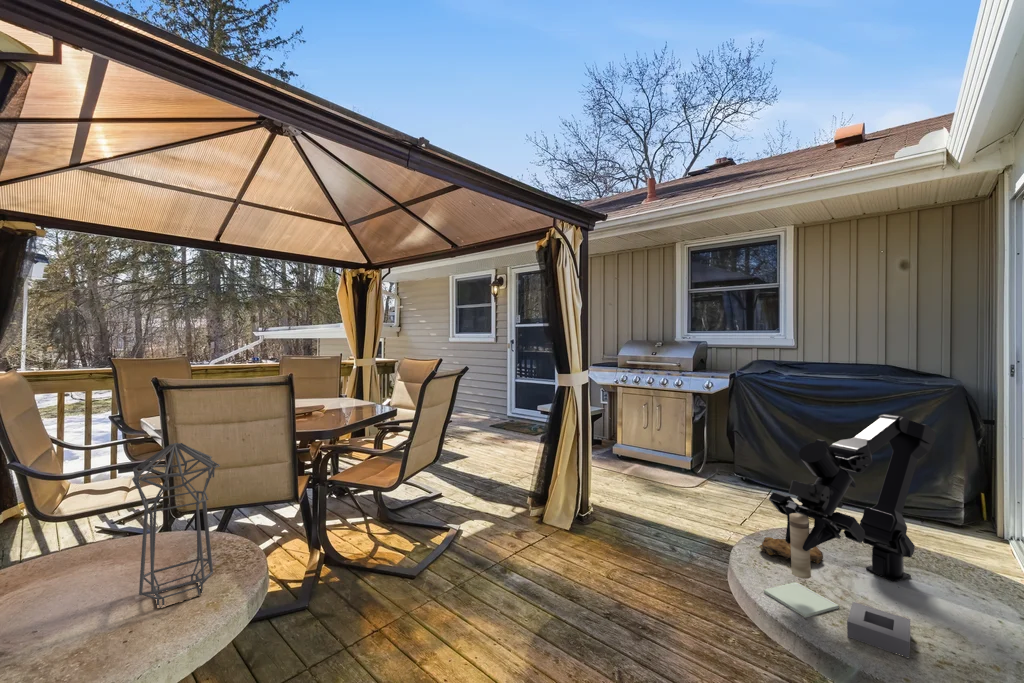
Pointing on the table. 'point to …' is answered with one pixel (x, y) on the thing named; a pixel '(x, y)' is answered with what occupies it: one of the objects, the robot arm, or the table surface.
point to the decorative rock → (786, 549)
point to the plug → (799, 545)
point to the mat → (801, 599)
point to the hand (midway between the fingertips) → (795, 546)
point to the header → (879, 629)
